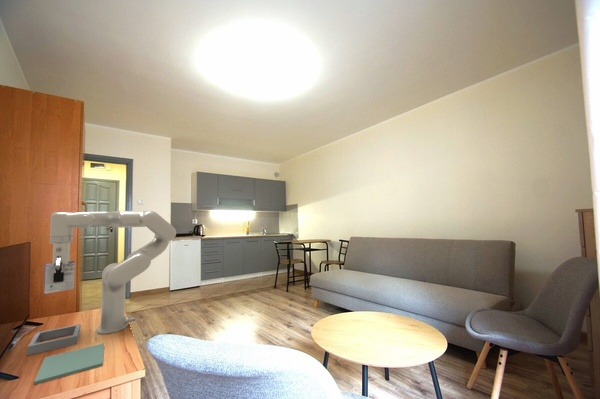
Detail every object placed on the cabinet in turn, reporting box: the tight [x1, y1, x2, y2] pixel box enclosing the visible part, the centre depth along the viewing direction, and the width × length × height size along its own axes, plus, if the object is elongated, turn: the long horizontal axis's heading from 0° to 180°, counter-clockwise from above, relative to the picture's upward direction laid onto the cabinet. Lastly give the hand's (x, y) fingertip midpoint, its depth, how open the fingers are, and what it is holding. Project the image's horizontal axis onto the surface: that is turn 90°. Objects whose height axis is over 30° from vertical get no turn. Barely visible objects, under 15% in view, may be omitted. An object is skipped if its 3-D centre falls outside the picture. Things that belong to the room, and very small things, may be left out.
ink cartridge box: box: [43, 260, 76, 295], centre depth 114 cm, size 10×6×14 cm, turn 138°
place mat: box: [33, 343, 105, 386], centre depth 97 cm, size 18×18×1 cm
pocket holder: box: [26, 323, 82, 356], centre depth 112 cm, size 15×15×4 cm
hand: (59, 279), depth 114 cm, fingers closed on ink cartridge box, 6 cm apart
